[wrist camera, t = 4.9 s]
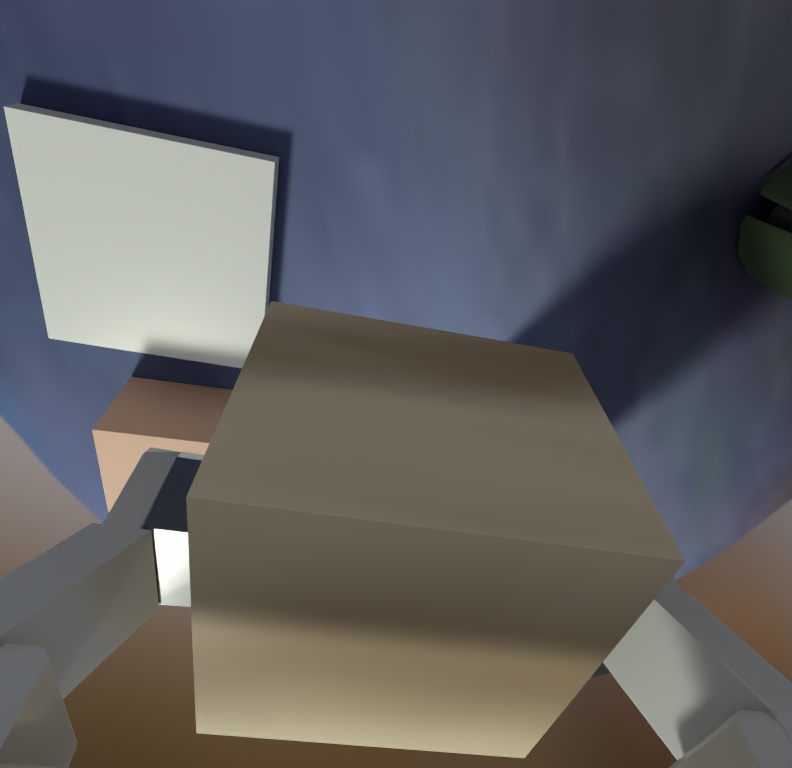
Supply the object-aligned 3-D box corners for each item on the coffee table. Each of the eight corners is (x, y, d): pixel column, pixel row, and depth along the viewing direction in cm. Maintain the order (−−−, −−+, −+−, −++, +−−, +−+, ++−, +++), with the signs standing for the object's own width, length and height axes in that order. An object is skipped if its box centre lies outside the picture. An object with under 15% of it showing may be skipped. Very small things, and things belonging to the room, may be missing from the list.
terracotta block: (131, 375, 27) (92, 429, 24) (238, 389, 28) (215, 443, 24) (142, 453, 31) (108, 511, 27) (237, 463, 31) (217, 522, 27)
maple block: (271, 300, 9) (186, 497, 5) (572, 353, 10) (685, 560, 6) (256, 514, 12) (196, 733, 8) (485, 543, 13) (523, 758, 9)
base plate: (19, 103, 20) (3, 106, 19) (279, 156, 21) (274, 162, 21) (59, 328, 26) (48, 338, 25) (265, 360, 27) (260, 371, 26)
